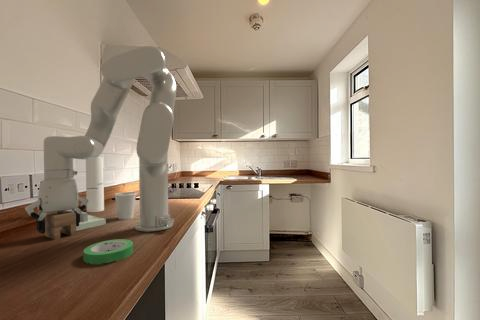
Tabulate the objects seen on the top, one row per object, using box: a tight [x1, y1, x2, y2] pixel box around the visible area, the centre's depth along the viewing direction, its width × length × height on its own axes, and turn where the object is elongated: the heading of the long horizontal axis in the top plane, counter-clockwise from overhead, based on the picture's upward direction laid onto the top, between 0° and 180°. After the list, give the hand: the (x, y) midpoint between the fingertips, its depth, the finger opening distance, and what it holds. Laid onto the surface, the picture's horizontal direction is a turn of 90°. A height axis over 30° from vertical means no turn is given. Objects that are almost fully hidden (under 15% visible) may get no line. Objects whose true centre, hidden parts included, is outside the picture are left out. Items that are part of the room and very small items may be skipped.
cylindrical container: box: [85, 156, 105, 213], centre depth 120 cm, size 7×7×25 cm
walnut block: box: [44, 211, 77, 240], centre depth 82 cm, size 7×6×8 cm
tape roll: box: [82, 238, 134, 265], centre depth 64 cm, size 11×11×3 cm
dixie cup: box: [113, 191, 137, 220], centre depth 105 cm, size 8×8×10 cm
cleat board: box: [60, 210, 107, 232], centre depth 94 cm, size 16×12×5 cm
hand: (59, 229), depth 82 cm, fingers open, 9 cm apart
